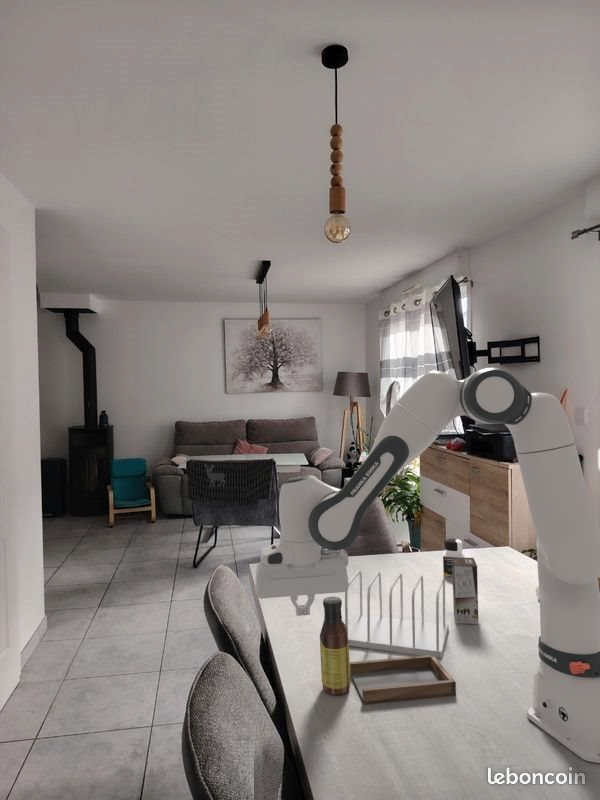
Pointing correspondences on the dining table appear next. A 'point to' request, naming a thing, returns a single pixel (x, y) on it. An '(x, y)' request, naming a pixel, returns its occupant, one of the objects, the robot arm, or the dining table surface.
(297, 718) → the dining table surface
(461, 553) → the white plastic bottle
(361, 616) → the file sorter
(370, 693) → the wooden tray
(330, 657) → the sauce bottle
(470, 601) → the coffee box
